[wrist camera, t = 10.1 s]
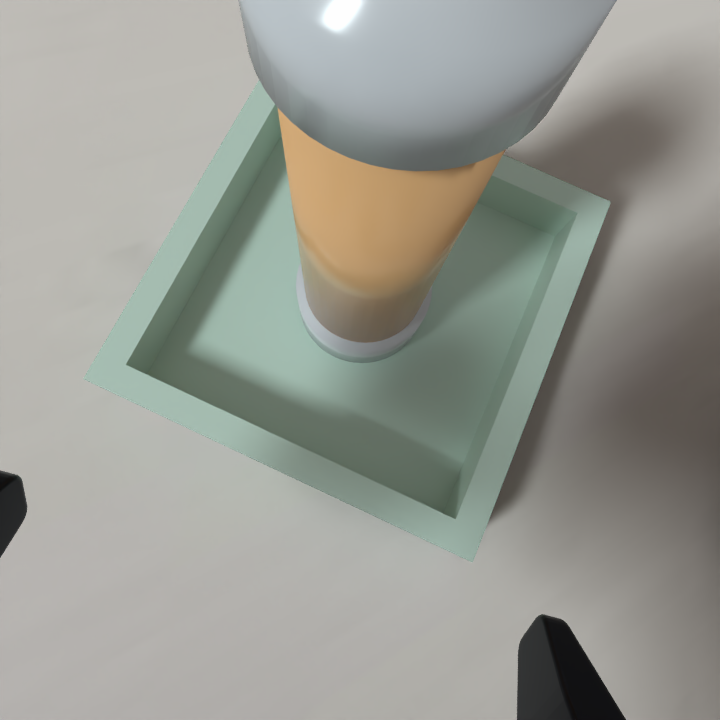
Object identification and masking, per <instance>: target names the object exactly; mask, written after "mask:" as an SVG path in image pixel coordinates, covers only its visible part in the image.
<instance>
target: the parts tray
mask: <svg viewBox="0 0 720 720" xmlns="http://www.w3.org/2000/svg"><path fill="white" fill-rule="evenodd" d="M610 203H611V202H610V201H608V200H606V199H604V198H601V197H599V196H597V195H594V194H592V193H590V192H588V191H585V190H583V189H581V188H578V187H576V186H574V185H572V184H569V183H567V182H565V181H562V180H560V179H558V178H556V177H553V176H551V175H549V174H546V173H544V172H542V171H540V170H537V169H535V168H533V167H531V166H528V165H526V164H524V163H521V162H519V161H517V160H515V159H512V158H510V157H508V156H505V155H502V157H501V159H500V161H499V163H498V165H497V167H496V168H495V170H494V172H493V174H492V176H491V178H490V179H489V181H488V183H487V185H486V187H485V189H484V191H483V192H482V194H481V196H480V198H479V200H478V202H477V203H476V205H475V207H474V209H473V211H472V213H471V215H470V216H469V218H468V220H467V222H466V224H465V226H464V227H463V229H462V231H461V233H460V235H459V237H458V239H457V240H456V242H455V244H454V246H453V248H452V250H451V251H450V253H449V255H448V257H447V259H446V261H445V263H444V264H443V266H442V268H441V270H440V272H439V274H438V275H437V277H436V279H435V281H434V283H433V285H432V296H431V302H430V305H429V308H428V311H427V313H426V315H425V317H424V319H423V321H422V322H421V324H420V326H419V327H418V329H417V331H416V332H415V334H414V335H413V337H412V338H411V340H410V341H409V342H408V343H407V344H406V346H404V347H403V348H402V349H401V350H400V351H398V352H397V353H395V354H394V355H392V356H390V357H388V358H386V359H383V360H380V361H375V362H370V363H354V362H349V361H344V360H341V359H338V358H336V357H334V356H332V355H330V354H328V353H327V352H325V351H324V350H323V349H321V348H320V347H319V346H318V345H317V344H316V343H315V342H314V341H313V340H312V338H311V337H310V335H309V334H308V332H307V330H306V328H305V326H304V324H303V321H302V318H301V314H300V309H299V304H298V298H297V293H296V278H297V272H298V268H299V265H300V255H299V248H298V241H297V235H296V228H295V221H294V215H293V208H292V201H291V194H290V188H289V181H288V174H287V168H286V161H285V154H284V148H283V141H282V134H281V127H280V121H279V114H278V107H277V106H276V105H275V103H274V102H273V101H272V99H271V98H270V97H269V95H268V94H267V92H266V91H265V89H264V88H263V86H262V84H261V82H260V80H259V81H258V83H257V84H256V86H255V88H254V90H253V91H252V93H251V95H250V96H249V98H248V100H247V101H246V103H245V105H244V107H243V108H242V110H241V112H240V113H239V115H238V117H237V118H236V120H235V122H234V124H233V125H232V127H231V129H230V130H229V132H228V134H227V135H226V137H225V139H224V140H223V142H222V144H221V146H220V147H219V149H218V151H217V152H216V154H215V156H214V157H213V159H212V161H211V163H210V164H209V166H208V168H207V169H206V171H205V173H204V174H203V176H202V178H201V180H200V181H199V183H198V185H197V186H196V188H195V190H194V191H193V193H192V195H191V197H190V198H189V200H188V202H187V203H186V205H185V207H184V208H183V210H182V212H181V214H180V215H179V217H178V219H177V220H176V222H175V224H174V225H173V227H172V229H171V231H170V232H169V234H168V236H167V237H166V239H165V241H164V242H163V244H162V246H161V248H160V249H159V251H158V253H157V254H156V256H155V258H154V259H153V261H152V263H151V265H150V266H149V268H148V270H147V271H146V273H145V275H144V276H143V278H142V280H141V282H140V283H139V285H138V287H137V288H136V290H135V292H134V293H133V295H132V297H131V299H130V300H129V302H128V304H127V305H126V307H125V309H124V310H123V312H122V314H121V316H120V317H119V319H118V321H117V322H116V324H115V326H114V327H113V329H112V331H111V333H110V334H109V336H108V338H107V339H106V341H105V343H104V344H103V346H102V348H101V349H100V351H99V353H98V355H97V356H96V358H95V360H94V361H93V363H92V365H91V366H90V368H89V370H88V372H87V373H86V375H85V377H84V378H83V379H84V380H87V381H89V382H91V383H93V384H95V385H97V386H99V387H101V388H104V389H106V390H108V391H110V392H112V393H114V394H116V395H118V396H121V397H123V398H125V399H127V400H129V401H131V402H133V403H135V404H137V405H140V406H142V407H144V408H146V409H148V410H150V411H152V412H154V413H157V414H159V415H161V416H163V417H165V418H167V419H169V420H171V421H174V422H176V423H178V424H180V425H182V426H184V427H186V428H188V429H191V430H193V431H195V432H197V433H199V434H201V435H203V436H205V437H207V438H210V439H212V440H214V441H216V442H218V443H220V444H222V445H224V446H227V447H229V448H231V449H233V450H235V451H237V452H239V453H241V454H244V455H246V456H248V457H250V458H252V459H254V460H256V461H258V462H261V463H263V464H265V465H267V466H269V467H271V468H273V469H275V470H277V471H280V472H282V473H284V474H286V475H288V476H290V477H292V478H294V479H297V480H299V481H301V482H303V483H305V484H307V485H309V486H311V487H314V488H316V489H318V490H320V491H322V492H324V493H326V494H328V495H331V496H333V497H335V498H337V499H339V500H341V501H343V502H345V503H347V504H350V505H352V506H354V507H356V508H358V509H360V510H362V511H364V512H367V513H369V514H371V515H373V516H375V517H377V518H379V519H381V520H384V521H386V522H388V523H390V524H392V525H394V526H396V527H398V528H401V529H403V530H405V531H407V532H409V533H411V534H413V535H415V536H417V537H420V538H422V539H424V540H426V541H428V542H430V543H432V544H434V545H437V546H439V547H441V548H443V549H445V550H447V551H449V552H451V553H454V554H456V555H458V556H460V557H462V558H464V559H466V560H468V561H471V562H473V560H474V557H475V555H476V552H477V550H478V547H479V544H480V542H481V539H482V537H483V534H484V531H485V529H486V526H487V524H488V521H489V518H490V516H491V513H492V510H493V508H494V505H495V503H496V500H497V497H498V495H499V492H500V490H501V487H502V484H503V482H504V479H505V477H506V474H507V471H508V469H509V466H510V464H511V461H512V458H513V456H514V453H515V451H516V448H517V445H518V443H519V440H520V438H521V435H522V432H523V430H524V427H525V425H526V422H527V419H528V417H529V414H530V412H531V409H532V406H533V404H534V401H535V398H536V396H537V393H538V391H539V388H540V385H541V383H542V380H543V378H544V375H545V372H546V370H547V367H548V365H549V362H550V359H551V357H552V354H553V352H554V349H555V346H556V344H557V341H558V339H559V336H560V333H561V331H562V328H563V326H564V323H565V320H566V318H567V315H568V313H569V310H570V307H571V305H572V302H573V299H574V297H575V294H576V292H577V289H578V286H579V284H580V281H581V279H582V276H583V273H584V271H585V268H586V266H587V263H588V260H589V258H590V255H591V253H592V250H593V247H594V245H595V242H596V240H597V237H598V234H599V232H600V229H601V227H602V224H603V221H604V219H605V216H606V214H607V211H608V208H609V206H610Z"/></svg>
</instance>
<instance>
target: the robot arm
mask: <svg viewBox="0 0 720 720" xmlns="http://www.w3.org/2000/svg"><path fill="white" fill-rule="evenodd" d="M26 513H27V503H26V498H25V492H24V487H23V482H22V479H21V478H20V477H19V476H18V475H15V474H12V473H8V472H4V471H0V557H1V556H2V554H3V553H4V551H5V549H6V548H7V546H8V545H9V543H10V542H11V540H12V538H13V537H14V535H15V534H16V532H17V530H18V529H19V527H20V526H21V524H22V522H23V520H24V518H25V516H26ZM517 720H626V719H625V717H624V716H623V714H622V712H621V711H620V709H619V708H618V706H617V704H616V703H615V701H614V699H613V698H612V696H611V694H610V693H609V691H608V690H607V688H606V686H605V685H604V683H603V681H602V680H601V678H600V676H599V675H598V673H597V672H596V670H595V668H594V667H593V665H592V663H591V662H590V660H589V658H588V657H587V655H586V654H585V652H584V650H583V649H582V647H581V645H580V644H579V642H578V640H577V639H576V637H575V635H574V634H573V632H572V631H571V629H570V627H569V626H568V624H567V623H566V622H565V621H563V620H561V619H559V618H555V617H551V616H547V615H543V614H542V615H539V616H538V617H537V618H536V619H535V620H534V622H533V623H532V625H531V626H530V627H529V629H528V630H527V632H526V633H525V634H524V636H523V637H522V639H521V641H520V644H519V650H518V691H517Z"/></svg>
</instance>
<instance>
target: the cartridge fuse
mask: <svg viewBox="0 0 720 720" xmlns="http://www.w3.org/2000/svg"><path fill="white" fill-rule="evenodd" d="M238 1H239V6H240V11H241V16H242V21H243V26H244V31H245V36H246V41H247V47H248V52H249V55H250V58H251V61H252V64H253V67H254V70H255V72H256V74H257V76H258V78H259V80H260V82H261V84H262V86H263V88H264V89H265V91H266V92H267V94H268V95H269V97H270V98H271V99H272V101H273V102H274V103H275V105H276V106H277V107H278V114H279V121H280V127H281V134H282V141H283V148H284V154H285V161H286V168H287V174H288V181H289V188H290V194H291V201H292V208H293V215H294V221H295V228H296V235H297V241H298V248H299V255H300V265H299V268H298V272H297V278H296V293H297V298H298V304H299V309H300V314H301V318H302V321H303V324H304V326H305V328H306V330H307V332H308V334H309V335H310V337H311V338H312V340H313V341H314V342H315V343H316V344H317V345H318V346H319V347H320V348H321V349H323V350H324V351H325V352H327V353H328V354H330V355H332V356H334V357H336V358H338V359H341V360H344V361H349V362H354V363H370V362H375V361H380V360H383V359H386V358H388V357H390V356H392V355H394V354H395V353H397V352H398V351H400V350H401V349H402V348H403V347H404V346H406V344H407V343H408V342H409V341H410V340H411V338H412V337H413V335H414V334H415V332H416V331H417V329H418V327H419V326H420V324H421V322H422V321H423V319H424V317H425V315H426V313H427V311H428V308H429V305H430V302H431V296H432V285H433V283H434V281H435V279H436V277H437V275H438V274H439V272H440V270H441V268H442V266H443V264H444V263H445V261H446V259H447V257H448V255H449V253H450V251H451V250H452V248H453V246H454V244H455V242H456V240H457V239H458V237H459V235H460V233H461V231H462V229H463V227H464V226H465V224H466V222H467V220H468V218H469V216H470V215H471V213H472V211H473V209H474V207H475V205H476V203H477V202H478V200H479V198H480V196H481V194H482V192H483V191H484V189H485V187H486V185H487V183H488V181H489V179H490V178H491V176H492V174H493V172H494V170H495V168H496V167H497V165H498V163H499V161H500V159H501V157H502V155H503V154H504V152H505V150H506V149H507V148H508V147H510V146H512V145H513V144H515V143H517V142H518V141H519V140H521V139H522V138H523V137H524V136H526V135H527V134H528V133H529V132H530V131H532V130H533V129H534V128H535V127H536V126H537V125H538V123H539V122H540V121H541V120H542V119H543V118H544V117H545V116H546V115H547V113H548V112H549V110H550V109H551V107H552V106H553V104H554V103H555V101H556V100H557V98H558V96H559V95H560V93H561V91H562V90H563V88H564V86H565V85H566V83H567V81H568V80H569V78H570V77H571V75H572V73H573V72H574V70H575V68H576V67H577V65H578V63H579V62H580V60H581V58H582V57H583V55H584V53H585V52H586V50H587V48H588V47H589V45H590V44H591V42H592V40H593V39H594V37H595V35H596V34H597V32H598V30H599V29H600V27H601V25H602V24H603V22H604V20H605V19H606V17H607V15H608V14H609V12H610V11H611V9H612V7H613V6H614V4H615V2H616V1H617V0H238Z"/></svg>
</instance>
